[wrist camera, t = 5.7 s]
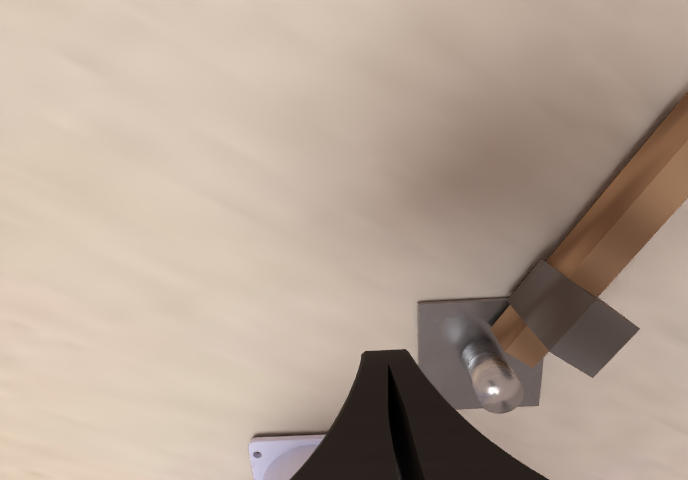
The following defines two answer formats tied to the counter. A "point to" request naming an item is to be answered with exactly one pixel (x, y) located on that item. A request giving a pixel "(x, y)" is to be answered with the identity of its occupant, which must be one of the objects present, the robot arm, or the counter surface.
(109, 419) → the counter surface
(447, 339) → the pivot base
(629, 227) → the lever
